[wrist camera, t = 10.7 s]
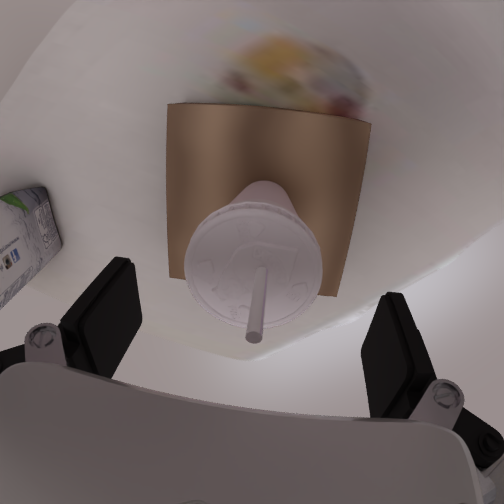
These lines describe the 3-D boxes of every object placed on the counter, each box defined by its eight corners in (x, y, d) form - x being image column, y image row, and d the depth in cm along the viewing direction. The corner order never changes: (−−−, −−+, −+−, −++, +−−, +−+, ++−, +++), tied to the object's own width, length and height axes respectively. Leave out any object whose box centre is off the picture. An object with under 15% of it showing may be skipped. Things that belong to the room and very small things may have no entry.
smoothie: (325, 217, 23) (366, 361, 10) (253, 260, 25) (226, 414, 13) (275, 143, 21) (264, 218, 8) (202, 194, 23) (114, 315, 11)
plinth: (358, 119, 23) (371, 123, 19) (330, 272, 29) (336, 296, 26) (184, 102, 24) (167, 104, 20) (182, 255, 30) (169, 277, 27)
